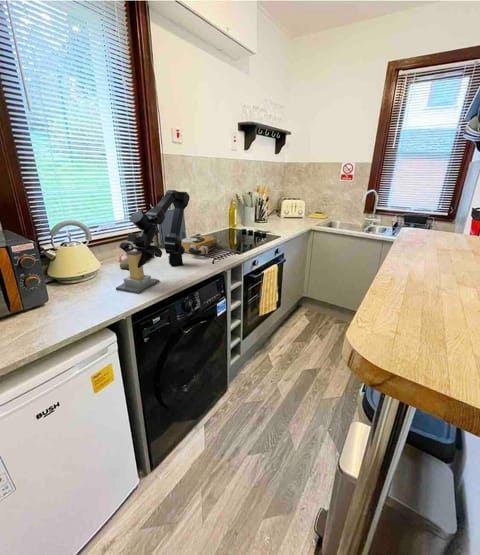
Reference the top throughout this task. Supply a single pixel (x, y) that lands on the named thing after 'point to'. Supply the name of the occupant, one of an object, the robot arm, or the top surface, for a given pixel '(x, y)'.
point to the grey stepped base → (137, 284)
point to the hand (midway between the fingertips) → (133, 266)
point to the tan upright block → (135, 264)
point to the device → (199, 244)
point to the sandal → (125, 263)
